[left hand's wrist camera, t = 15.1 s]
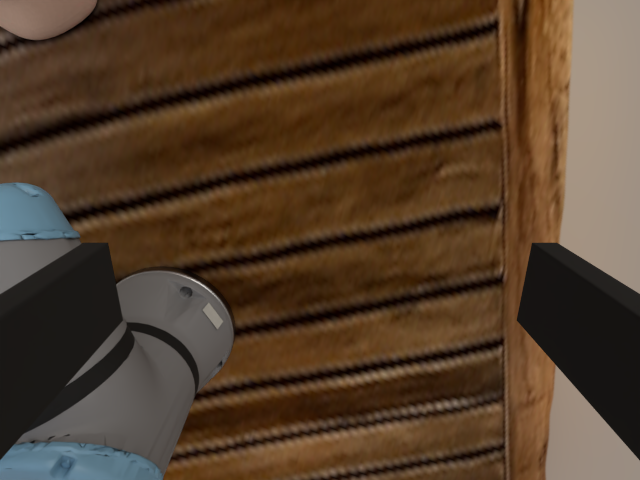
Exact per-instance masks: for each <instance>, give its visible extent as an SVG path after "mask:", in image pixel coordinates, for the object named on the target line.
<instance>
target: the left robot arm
mask: <svg viewBox="0 0 640 480" xmlns="http://www.w3.org/2000/svg"><path fill="white" fill-rule="evenodd" d="M79 238H80V234H79V233H78V232H77V231H74V230H73V228H72V227H71V225H70V224H69V222H68V221H67V219H66V218H65V216H64V215H63V213H62V212H61V210H60V209H59V207H58V205H57V204H56V202H55V201H54V199H53V198H52V197H51V196H50V194H48V193H47V192H46V191H45V190H43V189H42V188H40V187H37V186H35V185H31V184H27V183H4V184H0V480H163V477H164V474H165V471H166V469H167V466H168V464H169V461H170V459H171V456H172V454H173V451H174V449H175V446H176V443H177V441H178V438H179V436H180V433H181V431H182V428H183V426H184V423H185V421H186V418H187V416H188V413H189V410H190V408H191V405H192V403H193V400H194V398H195V395H196V393H197V392H198V391H199V390H200V389H202V388H203V387H204V386H205V385H206V384H207V383H208V382H209V381H210V379H211V378H213V377H214V376H215V375H216V374H217V373H218V372H219V371H220V369H221V368H222V367H223V365H224V364H225V362H226V360H227V359H228V357H229V355H230V352H231V349H232V346H233V343H234V339H235V321H234V317H233V314H232V311H231V309H230V306H229V305H228V303H227V301H226V300H225V298H224V297H223V295H222V294H221V293H220V292H219V291H218V290H217V289H216V288H215V287H214V286H213V285H211V284H210V283H209V282H208V281H206V280H205V279H203V278H201V277H199V276H198V275H196V274H193V273H191V272H188V271H185V270H182V269H178V268H172V267H150V268H145V269H142V270H138V271H136V272H134V273H131V274H130V275H128V276H126V277H125V278H123V279H122V280H121V281H120V282H119V283H118V284H116V282H115V276H114V271H113V266H112V261H111V256H110V251H109V246H108V243H82V244H81V242H80V240H79ZM517 321H518V322H519V323H520V325H521V326H522V327H523V328H524V329H525V330H526V331H527V332H528V334H529V335H530V336H531V337H532V338H533V339H534V340H535V342H536V343H537V344H538V345H539V346H540V347H541V348H542V350H543V351H544V352H545V353H546V354H547V355H548V356H549V358H550V359H551V360H552V361H553V362H554V363H555V364H556V365H557V367H558V368H559V369H560V370H561V371H562V372H563V373H564V375H565V376H566V377H567V378H568V379H569V380H570V381H571V383H572V384H573V385H574V386H575V387H576V388H577V389H578V390H579V392H580V393H581V394H582V395H583V396H584V397H585V399H586V400H587V401H588V402H589V403H590V404H591V405H592V406H593V408H594V409H595V410H596V411H597V412H598V413H599V414H600V416H601V417H602V418H603V419H604V420H605V421H606V422H607V424H608V425H609V426H610V427H611V428H612V429H613V430H614V432H615V433H616V434H617V435H618V436H619V437H620V438H621V439H622V441H623V442H624V443H625V444H626V445H627V446H628V447H629V449H630V450H631V451H632V452H633V453H634V454H635V455H636V456H637V458H638V459H639V460H640V294H639V293H637V292H636V291H634V290H632V289H631V288H629V287H627V286H626V285H624V284H623V283H621V282H619V281H618V280H616V279H614V278H613V277H611V276H610V275H608V274H606V273H605V272H603V271H602V270H600V269H598V268H597V267H595V266H593V265H592V264H590V263H589V262H587V261H585V260H584V259H582V258H581V257H579V256H577V255H576V254H574V253H572V252H571V251H569V250H568V249H566V248H564V247H563V246H561V245H560V244H558V243H532V246H531V251H530V256H529V261H528V266H527V271H526V276H525V282H524V287H523V292H522V297H521V302H520V307H519V312H518V317H517Z"/></svg>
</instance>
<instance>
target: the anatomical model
mask: <svg viewBox="0 0 640 480" xmlns="http://www.w3.org/2000/svg"><path fill="white" fill-rule="evenodd" d="M96 3H97V0H0V26H1V27H3V28H4V29H6V30H8V31H9V32H11V33H13V34H15V35H17V36H20V37H22V38H26V39H31V40H43V39H48V38H52V37H55V36H58V35H60V34H62V33H64V32H66V31H68V30H69V29H71V28H73V27H74V26H76V25H77V24H79V23H80V22H82V21H83V20H84V19H85V18H86V17H87V16H89V14H90V13H91V12H92V11H93V10H94V8H95V6H96Z"/></svg>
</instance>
